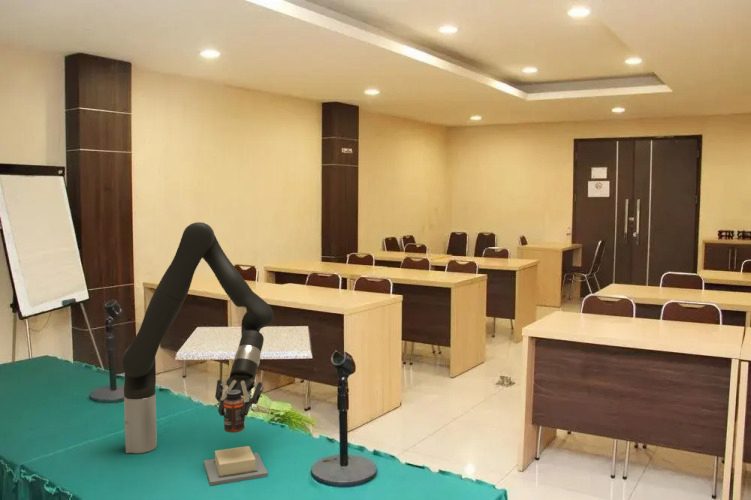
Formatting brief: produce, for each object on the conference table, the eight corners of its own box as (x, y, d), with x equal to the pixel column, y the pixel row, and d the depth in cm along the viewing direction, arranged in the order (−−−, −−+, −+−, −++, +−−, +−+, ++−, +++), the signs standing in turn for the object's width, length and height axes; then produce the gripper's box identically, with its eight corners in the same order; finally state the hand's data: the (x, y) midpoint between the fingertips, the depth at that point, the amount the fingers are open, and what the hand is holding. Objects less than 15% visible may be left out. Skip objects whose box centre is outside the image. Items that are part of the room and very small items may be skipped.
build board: (210, 485, 175) (209, 470, 174) (203, 463, 188) (203, 448, 188) (267, 476, 180) (267, 461, 180) (257, 455, 194) (257, 441, 194)
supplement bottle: (248, 427, 185) (248, 389, 184) (238, 434, 180) (237, 396, 178) (231, 424, 187) (230, 387, 186) (219, 431, 182) (219, 393, 180)
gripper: (219, 356, 190) (204, 408, 179) (266, 358, 188) (253, 411, 177) (226, 368, 196) (212, 419, 185) (271, 370, 193) (259, 422, 183)
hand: (232, 415), depth 181 cm, fingers closed on supplement bottle, 6 cm apart
